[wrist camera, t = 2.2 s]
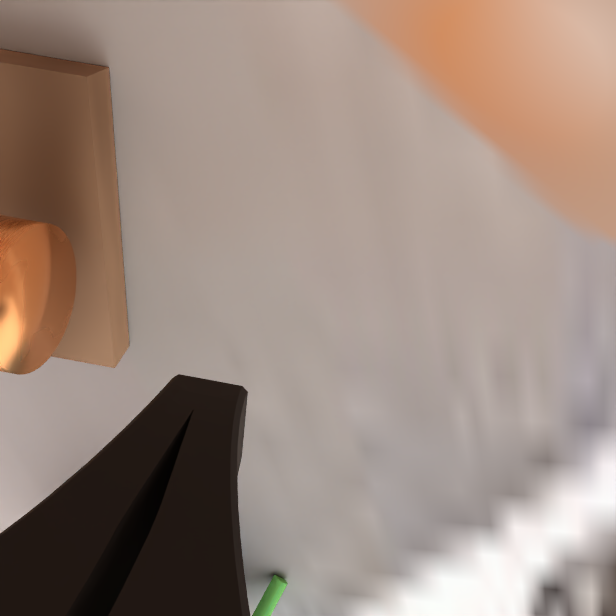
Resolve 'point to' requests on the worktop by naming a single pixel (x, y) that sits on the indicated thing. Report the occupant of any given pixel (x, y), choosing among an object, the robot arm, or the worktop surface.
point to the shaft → (33, 292)
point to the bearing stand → (68, 187)
